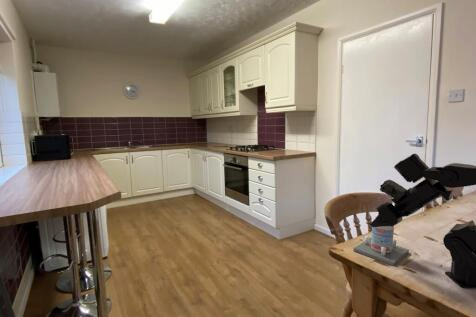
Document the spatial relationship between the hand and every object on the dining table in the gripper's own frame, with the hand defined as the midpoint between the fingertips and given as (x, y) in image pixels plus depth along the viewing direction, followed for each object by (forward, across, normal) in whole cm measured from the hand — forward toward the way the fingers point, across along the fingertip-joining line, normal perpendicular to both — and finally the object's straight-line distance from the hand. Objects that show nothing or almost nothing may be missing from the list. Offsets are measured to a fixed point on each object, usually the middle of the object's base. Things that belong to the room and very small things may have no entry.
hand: (377, 222), depth 87 cm
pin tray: (+6, 0, +8) cm, 10 cm away
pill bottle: (+5, 0, +7) cm, 9 cm away
